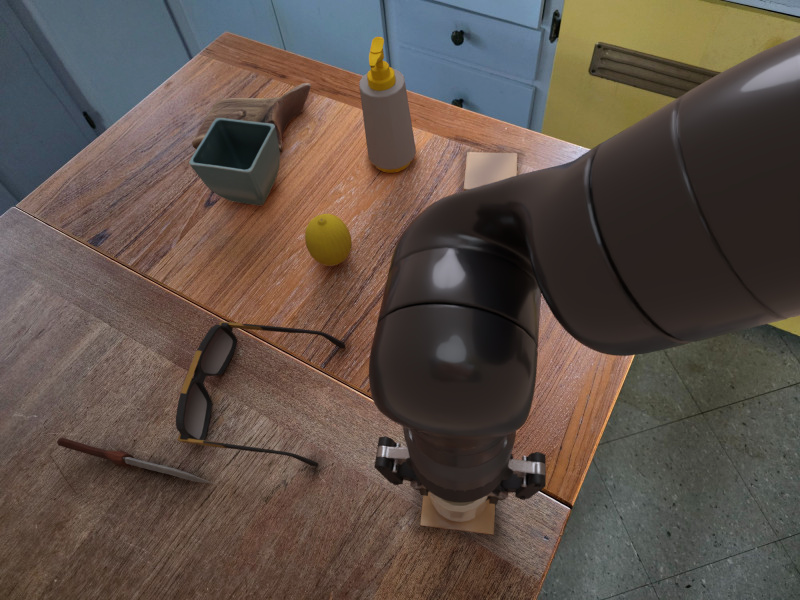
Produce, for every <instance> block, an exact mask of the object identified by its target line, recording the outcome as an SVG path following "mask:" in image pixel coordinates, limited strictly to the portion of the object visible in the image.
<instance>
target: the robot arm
mask: <svg viewBox="0 0 800 600" xmlns="http://www.w3.org/2000/svg"><path fill="white" fill-rule="evenodd" d="M393 249H394V250H393V251H392V255H391V259H390V264H389V269H388V273H387V278H386V282H385V286H384V291H383V295H382V299H381V304H380V309H379V313H378V318H377V322H376V327H375V330H374V335H373V339H372V343H371V347H370V352H369V362H368V382H369V383H368V384H369V389H370V395H371V399H372V401H373V403H374V406H375V407H376V408H377V410H378V411H379V412H380V413H381V414H382V415H383V416H384V417H386V418H387V419H389V420H390V421H392V422H394V423H395V424H398V425H399V426H401V427H402V430H403V431H402V432H403V437H404V441H405V445H406V447H402V444H401V443H400V442H396V441H395V440H394V439H393V438H391V437H389V436H379V437H378V440H377V447H376V453H375V460H374V466H373V467H374V469H375V470H376V471H378V473H380V474H381V476H382V477H384V478H385V479H386V481H388V482H389V483H390V484H392V485H393V486H399V485H403V484H404V481H407V482H409V487H411V488H412V489H413V490H414V491H419V494H420V496H422V497H423V496H428V491H430V492H431V493H432V494H434V495H436V496H437V497H439V498H442V499H444V500H447V501H451V502H471V501H475V500H478V499H481V498H483V497H485V496H490V497H489V503H490V504H495V505H497V504H498V501H504V500H506V499H508V498H509V493H510V494H511V493H513V494H515V495H514V496H515V498H516V499H518V500H521V501H522V500H523V501H525V500H528V499H531V498H532V497H533V496H535V495H536V494H537V493H539V492H540V491H542V490H543V489H544V488H545V487H547V486H546V483H547V481H546V479H547V478H546V477H547V470H546V469H547V464H546V462H547V459H546V458H547V456H546V454H545V453H542V452H539V451H535V452H531V453H530V454H528V455H522V456H521V459H516V458H514V455H513V454H512V453H513V450H514V447H515V441H516V435H517V431H518V430H520V429H522V427H523V426H524V425H525V424H526V423H527V420H528V418H529V415H530V412H531V409H532V406H533V400H534V396H535V389H536V383H537V372H538V359H539V358H538V357H539V349H538V348H539V338H540V337H539V336H540V323H541V320H540V319H541V308H542V307H541V306H542V304H541V303H542V298H543V300H544V301H545V303H546V305H547V307H548V309H549V310H550V312H551V313H552V316H553V317H554V318H555V319H556V321H557V322H558V324H559V325H560V326H561V327H562V328H563V330H565V332H567V334H568V335H569V336H571V338H573V339H574V340H575V341H577V342H578V343H580V344H581V345H582V346H584V347H586V348H588V349H590V350H592V351H594V352H597V353H599V354H604V355H609V356H614V357H615V356H617V357H627V356H628V357H629V356H636V355H637V356H638V355H644V354H645V355H646V354H650V353H656V352H659V351H664V350H668V349H672V348H676V347H681V346H685V345H688V344H692V343H696V342H700V341H705V340H708V339H712V338H717V337H720V336H725V335H728V334H733V333H737V332H741V331H745V330H748V329H753V328H756V327H757V328H758V327H761V326H765V325H768V324H772V323H776V322H777V323H778V322H780V321H785V320H787V319H791V318H796V317H800V35H798V36H795V37H793V38H790V39H788V40H786V41H783V42H781V43H778V44H777V45H774V46H772V47H769V48H765V49H764V50H762V51H759V52H758V53H756V54H755V55H754V54H753V55H752V56H750V57H748V58H746V59H745V60H743V61H741V62H739V63H737V64H735V65H733V66H730V67H729V68H726V69H725V70H723V71H722V72H719V73H718V74H717V75H715V76H713V77H711V78H709V79H707V80H706V81H704V82H702V83H701V84H699V85H697V86H695V87H694V88H692V89H690V90H688V91H687V92H685V93H684V94H682V95H681V96H679V97H677V98H676V99H674V100H672V101H670V102H668V103H667V104H665V105H664V106H662V107H660V108H659V109H656V110H655V111H654V112H652V113H649V114H648V115H647V116H645V117H643V118H642V119H640V120H638V121H636V122H635V123H633V124H631V125H630V126H628V127H626V128H624V129H623V130H621V131H619V132H618V133H616V134H614V135H613V136H611V137H609V138H608V139H606V140H604V141H602V142H600V143H598V144H597V145H596V146H594V147H592V148H591V149H589V150H588V151H586V152H585V153H583V154H582V155H580V156H578V157H577V158H575V159H574V160H572V161H569V162H566V163H562V164H559V165H554V166H550V167H546V168H542V169H537V170H532V171H529V172H525V173H521V174H517V176H513V177H510V178H507V179H504V180H501V181H497V182H494V183H490V184H487V185H483V186H479V187H476V188H472V189H469V190H462V191H458V192H455V193H453V194H449V195H447V196H443V197H442V198H440V199H438V200H436V201H434V202H433V203H432V204H430V205H428V206H427V207H426V208H425V209H423V210H422V211H421V212H420V213H419V214H418V215H417V216H416V217H415V218H413V220H412V221H411V222H410V223H409V224H408V226H407V227H406V228H405V229H404V230H403V232H402V234H401V235H400V237H399V239H398V241H397V242H396V245H395V247H394V248H393Z"/></svg>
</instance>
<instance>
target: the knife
mask: <svg viewBox="0 0 800 600" xmlns="http://www.w3.org/2000/svg"><path fill="white" fill-rule="evenodd" d="M56 443H57V444H56V445H58V446H59V447H62V448H65V449H69V450H73V451H76V452H79V453H83V454H86V455H90V456H92V457H97V458H100V459H103V460H109V461H110V462H111V463H112V464H114V465H115V466H118V467H124V468H131V467H134V466H135V467H137V468H142V469H146V470H149V471H154V472H158V473H162V474H165V475H170V476H173V477H177V478H180V479H183V480H187V481H191V482H196V483H205V484H211V485H212V484H213V485H216V483H215V482H212V481H210V480H208V479H204V478H202V477H199V476H197V475H195V474H193V473H190V472H187V471H184V470H182V469H177V468H174V467H170V466H167V465H161V464H158V463H153V462H149V461H145V460H142V459H139V458H135V457H134V456H133V455H132V454H131V453H128V452H127V451H125V450H120V449H119V450H107V449H103V448H99V447H97V446H96V447H95V446H92V445H88V444H85V443H82V442H78V441H76V440H72V439H69V438H65V437H59V438H58V439H57V441H56Z"/></svg>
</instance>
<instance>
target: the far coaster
mask: <svg viewBox="0 0 800 600" xmlns="http://www.w3.org/2000/svg"><path fill="white" fill-rule="evenodd" d="M517 175H518V152H490V151H489V152H486V151H485V152H483V151H482V152H481V151H467V152H466V160H465V171H464V181H463V182H464V183H463V191H465V190H469V189H472V188H476V187H479V186H483V185H487V184H490V183H494V182H497V181H501V180H504V179H507V178H510V177H513V176H517Z"/></svg>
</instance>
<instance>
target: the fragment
mask: <svg viewBox="0 0 800 600" xmlns="http://www.w3.org/2000/svg"><path fill="white" fill-rule="evenodd" d="M311 88H312V83H310V82H303V83H301V84H299V85H296V86H294V87H293V88H291V89H290V90H288V91H286V93H284V94H282V95H281V96H275V97H264V98H263V97H262V98H260V97H259V98H258V97H257V98H256V97H232V98H223V99H220V100H219V101H217V102H216V103H215V104H214V105H213V106H212V108H211V110H210V111H209V112H208V114H207V116H206V117H205V118H204V120H203V122H202V124H201V126H200V128H199V129H198V131H197V133H196V135H195V137H194V139H193V140H192V142H191V145H192V147H193V149H195V150H196V149H197V148H198V146H199V145H200V143H201V142H202V140H203V138H204V137H205V135H206V133H207V132H208V130H209V128H210V126H211V125H212V123H213V121H214V120H215V119H216V118H227V119H235V120H243V121H252V122H261V123H269V124H274V125H275V129H276V134H277V140H278V145H279V151H280V154H281V153H282V152H283V150H284V149H283V148H284V147H283V145H284V144H283V135H284V133H285V130H286V127H287V126H288V125H289V123H290V122H291V120H293V119H294V118H296V117H297V116H298V115H299V114H301V112H302V110H304V109H303V108H304V106H305V103H306V101H307V99H308V97H309V94H310V91H311Z"/></svg>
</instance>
